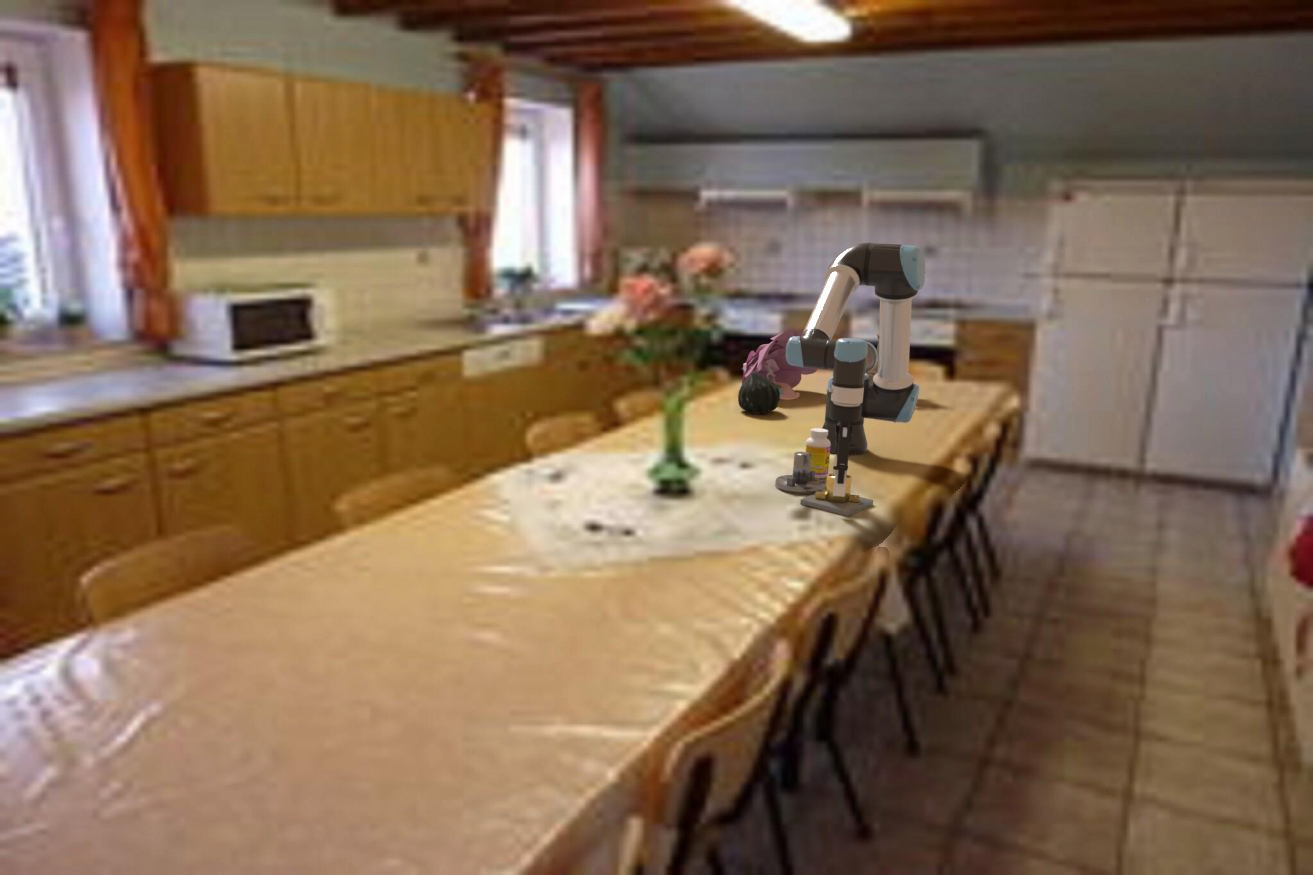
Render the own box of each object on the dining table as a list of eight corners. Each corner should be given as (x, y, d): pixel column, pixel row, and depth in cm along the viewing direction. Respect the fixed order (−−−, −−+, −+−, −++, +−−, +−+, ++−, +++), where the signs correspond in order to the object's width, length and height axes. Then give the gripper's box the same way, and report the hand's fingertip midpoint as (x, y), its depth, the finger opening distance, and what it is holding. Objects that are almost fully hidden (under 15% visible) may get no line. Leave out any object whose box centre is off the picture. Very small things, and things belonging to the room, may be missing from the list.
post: (791, 477, 255) (794, 445, 253) (834, 487, 247) (837, 454, 245) (765, 486, 245) (768, 453, 243) (809, 498, 237) (812, 463, 235)
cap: (858, 498, 235) (860, 474, 233) (859, 505, 229) (861, 480, 227) (815, 494, 236) (817, 470, 235) (815, 501, 230) (817, 476, 229)
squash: (793, 398, 336) (769, 363, 338) (775, 405, 324) (750, 370, 326) (765, 419, 344) (742, 385, 346) (746, 427, 332) (722, 392, 334)
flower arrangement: (778, 417, 354) (795, 346, 342) (723, 396, 363) (738, 327, 352) (813, 394, 382) (830, 328, 370) (761, 375, 392) (776, 311, 380)
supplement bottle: (827, 480, 254) (831, 433, 251) (802, 477, 255) (806, 431, 252) (828, 473, 260) (832, 428, 257) (803, 471, 261) (807, 426, 258)
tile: (826, 493, 242) (827, 488, 241) (872, 504, 234) (873, 500, 233) (800, 503, 232) (800, 499, 232) (847, 516, 224) (848, 511, 224)
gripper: (829, 392, 239) (822, 473, 244) (831, 412, 215) (823, 501, 220) (859, 394, 238) (852, 475, 243) (864, 415, 214) (855, 504, 219)
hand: (838, 488), depth 232 cm, fingers open, 13 cm apart
